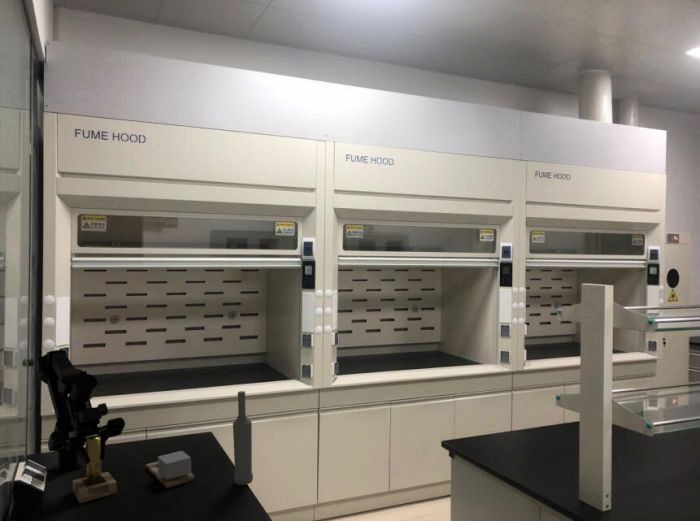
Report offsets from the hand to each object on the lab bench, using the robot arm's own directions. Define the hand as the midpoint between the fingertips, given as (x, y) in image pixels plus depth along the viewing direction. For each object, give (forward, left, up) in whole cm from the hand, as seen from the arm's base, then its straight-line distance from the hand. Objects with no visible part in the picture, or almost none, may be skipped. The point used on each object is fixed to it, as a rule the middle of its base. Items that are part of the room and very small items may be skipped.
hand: (95, 461), depth 144 cm
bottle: (+19, +34, -9) cm, 40 cm away
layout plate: (0, +20, -9) cm, 22 cm away
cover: (+4, +20, -7) cm, 21 cm away
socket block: (-1, 0, -9) cm, 9 cm away
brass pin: (-1, 0, -7) cm, 7 cm away
